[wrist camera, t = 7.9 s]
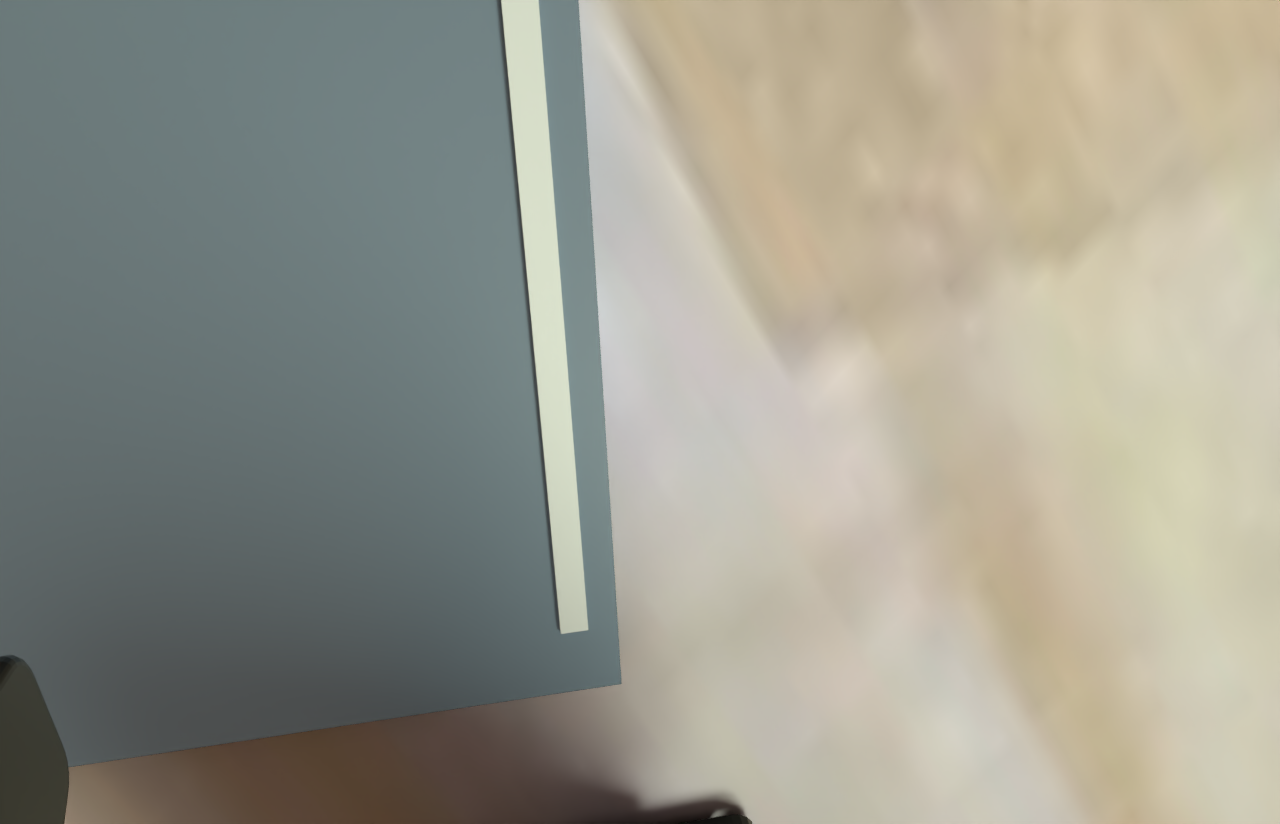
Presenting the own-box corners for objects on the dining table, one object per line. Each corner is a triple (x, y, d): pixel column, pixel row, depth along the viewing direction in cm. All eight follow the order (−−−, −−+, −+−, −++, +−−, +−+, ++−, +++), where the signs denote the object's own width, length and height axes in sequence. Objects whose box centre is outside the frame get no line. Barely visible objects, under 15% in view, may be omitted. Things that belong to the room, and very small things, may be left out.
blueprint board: (614, 655, 24) (622, 687, 23) (-98, 760, 22) (-115, 799, 21) (497, -1126, 12) (505, -1184, 11) (-1038, -1190, 10) (-1155, -1264, 9)
